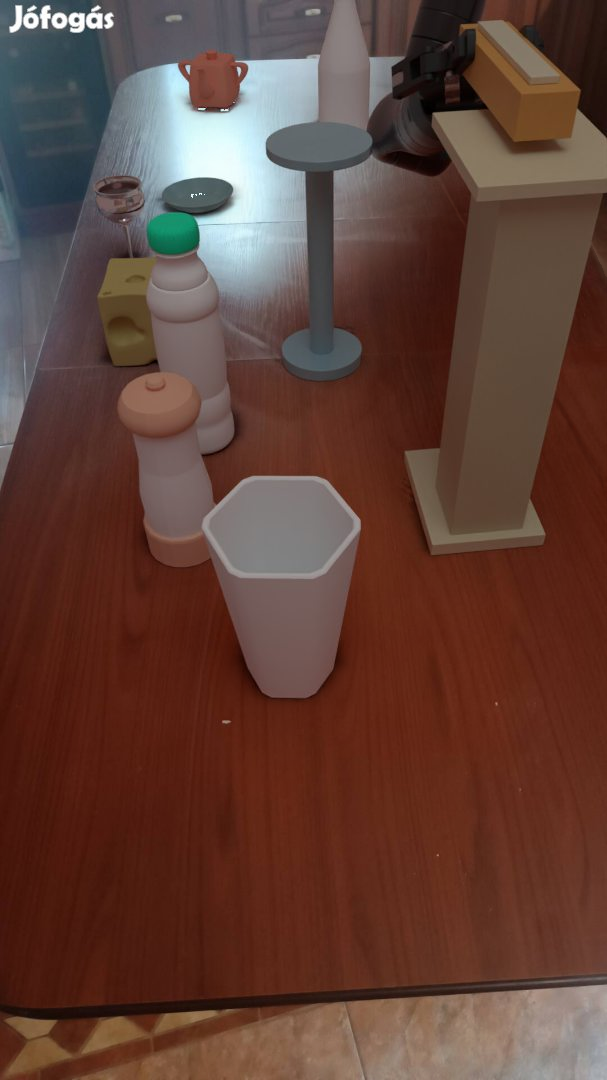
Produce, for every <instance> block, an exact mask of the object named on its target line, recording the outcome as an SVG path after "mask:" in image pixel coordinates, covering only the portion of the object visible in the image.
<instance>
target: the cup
mask: <svg viewBox="0 0 607 1080" xmlns="http://www.w3.org/2000/svg"><path fill="white" fill-rule="evenodd" d="M361 522H362V520H361V519H360V517H359V516H358V515H357V514H356V513H355V511H354V510H353V508H351V506H349V504H348V503H347V501H345V499H344V498H343V497H342V495H340V493H339V492H338V491H337V490H336V489H335V487H334V486H333V485H332V483H331V482H329V480H328V479H325V478H323V477H319V476H317V475H252V476H249V477H246V478H244V479H242V480H240V481H239V483H237V484H236V486H234V487H233V488H232V489H231V490H230V491H229V493H227V494H226V496H224V497H223V498H222V499H221V500H220V501H219V502H218V503H217V504H216V506H215V507H214V508H213V509H212V510H211V511H210V512H209V513H208V514H207V515H206V516H205V517H204V518H203V522H202V527H201V529H202V532H203V535H204V538H205V541H206V544H207V547H208V550H209V553H210V556H211V558H210V559H211V561H212V565H213V567H214V571H215V574H216V577H217V580H218V583H219V586H220V589H221V592H222V595H223V598H224V601H225V603H226V607H227V610H228V613H229V616H230V619H231V622H232V625H233V628H234V631H235V634H236V637H237V640H238V643H239V647H240V649H241V652H242V655H243V659H244V662H245V664H246V667H247V670H248V671H249V673H250V674H251V676H252V678H253V680H254V681H255V683H256V685H257V686H258V688H259V690H260V691H261V694H264V695H265V696H268V697H270V698H272V699H273V698H275V699H307V698H309V697H311V696H313V695H315V694H317V693H318V691H319V690H320V689H321V687H322V685H323V684H324V683H325V682H326V680H327V678H328V677H329V676H330V675H331V673H332V672H333V670H334V667H335V661H336V657H337V652H338V647H339V641H340V636H341V631H342V626H343V621H344V617H345V612H346V606H347V601H348V597H349V596H348V595H349V591H350V585H351V581H352V575H353V571H354V566H355V561H356V557H357V556H356V555H357V551H358V547H359V540H360V535H361V530H362V524H361Z"/></svg>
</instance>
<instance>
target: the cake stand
mask: <svg viewBox="0 0 607 1080" xmlns="http://www.w3.org/2000/svg"><path fill="white" fill-rule="evenodd" d="M265 140H266V141H265V155H266V157H267V159H268V160H269V161H270V162H271V163H273V164H275V165H276V166H278V167H282V168H284V169H288V170H292V171H298V172H305V173H304V178H305V179H304V182H305V184H304V185H305V215H306V216H305V218H306V220H305V221H306V222H305V224H306V225H305V226H306V254H307V255H306V257H307V264H306V265H307V292H308V293H307V299H308V304H307V305H308V327H307V328H304V329H300V330H297V331H296V332H293V333H292V334H290V335H289V336H288V337H286V339H285V340H284V341H283V342H282V345H281V362H282V365H283V367H284V368H285V369H286V371H287V372H289V373H290V374H291V375H293V376H295V377H296V378H300V379H302V380H307V381H312V382H328V381H335V380H339V379H342V378H345V377H347V376H349V375H351V374H352V373H354V372H355V371H357V369H358V368H360V365H361V363H362V357H363V354H362V353H363V345H362V343H361V340H359V338H358V337H356V335H354V334H353V333H352V332H350V331H348V330H345V329H342V328H338V327H335V325H334V324H335V322H334V321H335V318H334V317H335V316H334V315H335V311H334V310H335V308H334V307H335V294H334V293H335V290H334V289H335V287H334V286H335V281H334V279H335V275H334V271H335V270H334V269H335V262H334V261H335V258H334V257H335V256H334V255H335V254H334V253H335V250H334V249H335V246H334V245H335V243H334V242H335V240H334V238H335V233H334V232H335V231H334V230H335V228H334V227H335V223H334V222H335V217H334V215H335V214H334V213H335V209H334V207H335V205H334V204H335V202H334V201H335V199H334V198H335V197H334V196H335V195H334V194H335V192H334V190H335V189H334V188H335V187H334V186H335V185H334V184H335V183H334V182H335V177H334V176H335V173H334V172H336V171H341V170H346V169H349V168H352V167H355V166H358V165H360V164H362V163H364V162H365V161H367V160H368V159H370V157H371V156H372V148H373V140H372V137H371V135H370V134H369V133H368V132H366V131H365V130H363V129H361V128H358V127H355V126H352V125H348V124H342V123H334V122H319V121H311V122H310V121H309V122H302V123H297V124H292V125H287V126H285V127H282V128H280V129H277V130H275V131H273V132H272V133H271V134H270V135H268V136H267V138H266V139H265Z"/></svg>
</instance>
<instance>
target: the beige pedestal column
mask: <svg viewBox="0 0 607 1080" xmlns="http://www.w3.org/2000/svg"><path fill="white" fill-rule="evenodd" d="M432 128H433V129H434V131H435V133H436V134H437V136H438V138H439V139H440V141H441V143H442V145H443V146H444V148H445V150H446V151H447V153H448V155H449V156H450V158H451V160H452V163H453V165H454V167H455V168H456V170H457V172H458V173H459V175H460V177H461V178H462V180H463V182H464V183H465V185H466V187H467V189H468V191H469V192H470V200H469V201H470V202H469V208H468V217H467V224H466V235H465V241H464V250H463V258H462V264H461V265H462V267H461V274H460V282H459V290H458V292H459V293H458V299H457V307H456V314H455V324H454V329H453V330H454V332H453V338H452V348H451V357H450V363H449V371H448V381H447V387H446V397H445V404H444V414H443V420H442V429H441V437H440V445H439V447H435V448H424V449H413V450H405V451H404V456H403V457H404V458H403V463H404V467H405V470H406V474H407V477H408V480H409V484H410V488H411V492H412V495H413V497H414V501H415V504H416V508H417V512H418V514H419V519H420V522H421V525H422V526H421V527H422V529H423V533H424V536H425V539H426V543H427V547H428V550H429V554H430V556H440V555H450V554H460V553H461V554H462V553H472V552H482V551H493V550H495V551H496V550H504V549H515V548H516V549H517V548H526V547H538V546H543V545H544V542H545V540H546V539H545V538H546V536H547V534H546V532H545V529H544V527H543V524H542V522H541V520H540V517H539V516H538V514H537V511H536V509H535V507H534V504H533V502H532V500H531V495H532V491H533V487H534V482H535V477H536V474H537V470H538V464H539V461H540V456H541V454H542V453H541V452H542V449H543V445H544V441H545V436H546V433H547V428H548V424H549V420H550V415H551V411H552V406H553V404H554V398H555V395H556V391H557V386H558V382H559V378H560V375H561V369H562V365H563V362H564V357H565V353H566V349H567V344H568V341H569V336H570V333H571V328H572V325H573V321H574V320H573V319H574V316H575V311H576V309H577V304H578V300H579V295H580V291H581V287H582V282H583V279H584V274H585V270H586V266H587V263H588V258H589V254H590V249H591V245H592V241H593V237H594V233H595V229H596V224H597V220H598V217H599V212H600V207H601V203H602V199H603V196H604V194H607V137H606V136H605V135H604V134H603V132H601V131H600V130H599V129H598V127H596V126H595V125H594V124H593V123H592V122H591V120H590V119H588V118H587V117H586V116H585V115H584V114H583V112H581V110H580V109H579V108H577V112H576V117H575V121H574V126H573V131H572V136H571V138H564V139H549V140H534V141H519V142H514V141H513V140H512V138H511V137H510V136H509V135H508V133H507V132H506V131H505V129H504V128H503V127H502V125H501V124H500V123H499V121H498V120H497V119H496V118H495V116H494V115H493V114H492V112H491V111H490V110H489V109H483V110H467V111H452V112H437V113H433V115H432Z"/></svg>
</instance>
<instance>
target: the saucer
mask: <svg viewBox="0 0 607 1080" xmlns="http://www.w3.org/2000/svg"><path fill="white" fill-rule="evenodd" d="M199 193H202V195H201V194H200V195H199ZM233 193H234V187H233V185H232V184H231V183H230V182H229V181H227V180H224V179H222V178H217V177H210V176H209V177H205V176H204V177H201V176H199V177H191V178H186V179H181V180H178V181H175V182H173V183H171V184H170V185H168V186H166V187H165V188H164V189H163V191H162V193H161V199H162V200H163V201H164V202H165V203H166V204H168V205H169V206H170V207H172V208H174V209H176V210H178V211H180V212H182V213H187V214H202V213H208V212H211V211H213V210H215V209H218V208H220V207H221V206H222V205H223V204H225V203H226V202H227V201H228V200H229V199H230V197H231V196H232V195H233ZM191 194H194V195H193V198H192V197H191ZM195 194H197V196H196V195H195ZM204 194H205V195H204Z"/></svg>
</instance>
